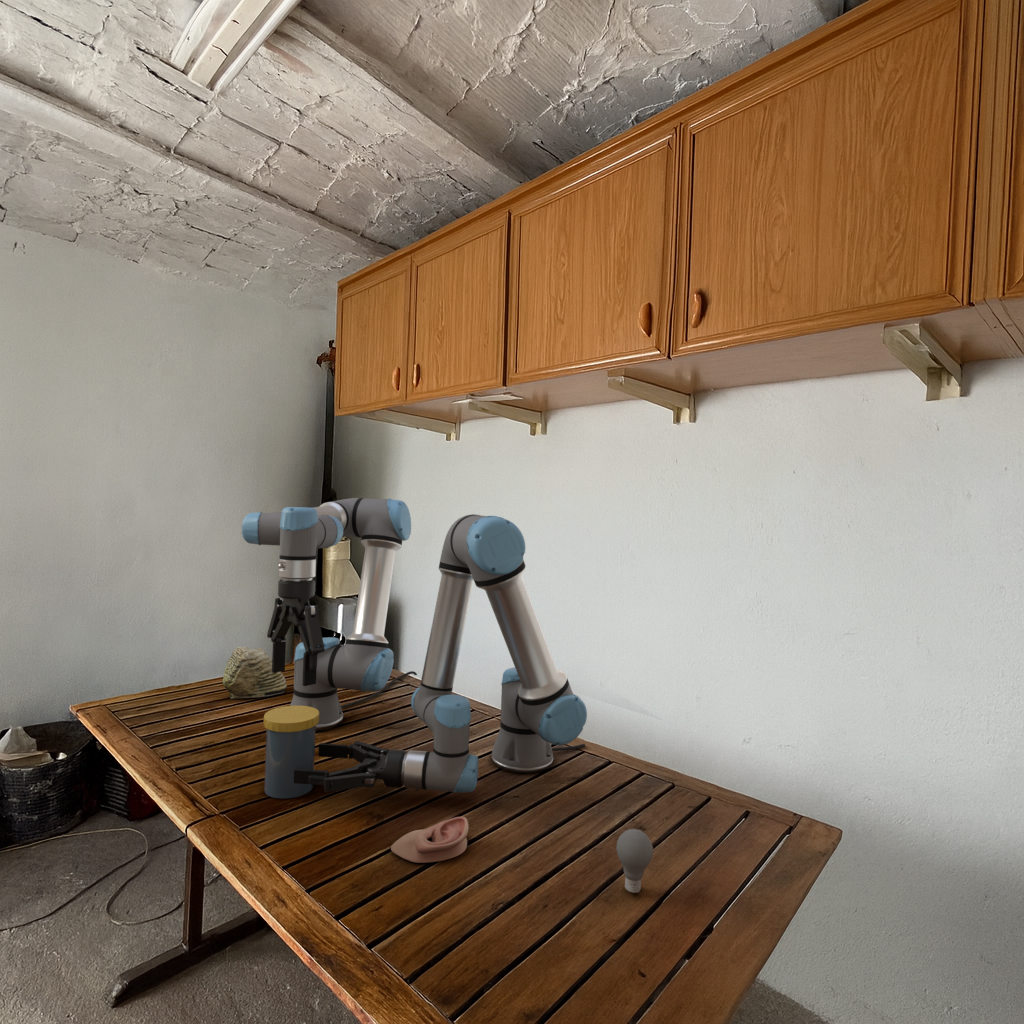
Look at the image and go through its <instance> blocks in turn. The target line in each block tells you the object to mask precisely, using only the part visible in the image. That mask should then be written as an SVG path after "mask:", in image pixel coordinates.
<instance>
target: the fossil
mask: <svg viewBox="0 0 1024 1024" xmlns="http://www.w3.org/2000/svg"><path fill="white" fill-rule="evenodd" d="M222 676H223V677H222V685H223V687H224V688H225V690H226V691H228V693H229V698H230V699H250V698H264V697H271V696H275V695H281V694H284V693H285V691H286V689H287V687H288V686H287V680H286V678H285V676H284V674H283V673H282V671H281V672H276V673H272V657H270V656H269V655H268V654H267V653H266V652H265V650H264V649H263V648H260V647H258V648H251V647H247V646H246V647H245V646H238V647H237V648H236V649H235V650H233V651H232V653H231V656H230V657H229V659H228V660H227V663H226V666H225V668H224V671H223V675H222Z"/></svg>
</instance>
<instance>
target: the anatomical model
mask: <svg viewBox="0 0 1024 1024" xmlns="http://www.w3.org/2000/svg"><path fill="white" fill-rule="evenodd" d="M468 833H469V821H468V819H467V817H465V816H455V817H452V818H448V819H445V820H443V821H440V822H438V823H436V824H434V825H431V826H429V827H427V828H424V829H416V830H413V831H410V832H408V833H406V834H404V835H402V836H401V837H399V838H398V839H397V840H396V841H394V843H393V844H392V845H391V847H390V851H391V852H392V853H393V854H395V855H396V856H398V857H400V858H401V859H404V860H407V861H408V862H411V863H417V864H427V863H434V862H442V861H446V860H450V859H454V858H455V857H458V856H460V855H462V854H463V853H464V852H465V851H466V849H467V847H468V838H467V836H468Z"/></svg>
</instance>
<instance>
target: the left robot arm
mask: <svg viewBox="0 0 1024 1024" xmlns="http://www.w3.org/2000/svg"><path fill="white" fill-rule="evenodd" d="M411 533H412V517H411V512H410V509H409V507H408V505H407V503H406V502H404V501H403V500H401V499H392V498H365V497H351V498H344V499H338V500H333V501H327V502H324V503H321V504H320V505H319V506H315V507H305V506H304V507H303V506H286V507H284V508H283V509H282V510H281V511H275V512H263V511H259V512H249V513H248V514H246V515H245V517H244V518H243V520H242V523H241V535H242V538H243V539H244V541H245V542H246V543H248V544H252V545H258V546H261V545H262V546H279V557H278V558H279V562H278V565H277V566H278V577H280V579H279V580H278V582H277V596H278V597H275V599H274V608H273V611H272V615H271V619H270V622H269V626H268V629H267V632H266V637H267V639H270V641H271V643H272V653H271V655H272V657H271V659H272V673H276V672H281V673H282V672H285V671H286V653H287V650H286V649H287V638H286V636H287V634H288V632H289V630H290V628H291V625H292V624H294V626H295V627H296V628H298V633H299V635H300V638H301V641H302V642H299V643H298V644H297V645H296V647H295V652H294V653H295V654H294V659H293V661H294V672H293V695H292V696H293V697H292V699H291V702H290V704H289V706H309V707H313V708H315V709H317V710H318V711H319V722H318V724H317V725H316V733H317V732H325V731H329V730H332V729H335V728H337V727H339V726H340V725H342V723H343V722H344V713H343V709H345V708H349V707H351V706H354V705H357V704H360V703H363V702H366V701H369V700H372V699H374V698H376V697H378V696H379V695H380V694H382V693H383V692H384V691H386V690H387V689H388V688H389V687H390V686H391V685H392V684H394V683H396V682H397V681H398V680H401V679H404V678H405V677H408V676H409V675H414V676H417V675H418V674H417V672H416V671H412V670H411V671H408V672H406V673H403V674H401V675H399V676H396V677H395V678H393V679H391V680H390V677H391V675H392V671H393V668H394V662H395V659H394V656H395V655H394V652H393V650H392V649H391V648H389V641H388V640H387V637H385V630H386V624H387V615H388V611H389V610H388V609H389V602H390V595H391V588H392V587H391V586H392V580H393V572H394V565H395V558H396V552H398V551H399V550H400V549H402V546H403V541H404V542H406V541H408V540H410V536H411ZM344 536H345V537H349V538H359V539H360V538H361V539H360V543H361V545H362V546H363V547H364V555H363V560H362V561H363V562H362V569H361V575H360V581H359V582H360V583H359V588H358V597H357V601H356V609H355V615H354V622H353V628H352V632H351V634H350V635H348V636H347V637H346V638H345V644H340V643H341V641H340V639H339V638H338V637H334V636H331V637H330V636H329V637H323V634H322V627H321V622H320V618H319V606H318V605H317V604H314V605H310V599H311V598H313V597H314V596H315V594H316V580H315V579H314V578H316V575H317V574H316V573H317V549H329V548H331V547H333V546H336V545H338V544H339V543H340V542H341V540H342V539H343V537H344ZM389 680H390V681H389ZM388 681H389V682H388ZM338 689H339V690H340V689H342V690H351V691H359V692H360V691H361V692H365V693H366V692H375V693H373V694H371V695H369V696H367V697H363V698H360V699H358V700H355V701H352V702H349V703H346V704H345V703H344V704H341V702H340V699H339V695H338Z"/></svg>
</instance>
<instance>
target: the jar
mask: <svg viewBox="0 0 1024 1024" xmlns="http://www.w3.org/2000/svg"><path fill="white" fill-rule="evenodd" d="M265 732H266V733H265V734H266V736H265V758H264V761H265V762H264V763H265V764H264V785H263V791H264V794H265V795H266V796H268V797H270V798H274V799H293V798H297V797H302V796H304V795H306V794H308V793H309V792H310V791H312V790H313V788H314V785H311V784H297V783H294V770H295V769H309V770H315V756H316V755H315V754H316V733H317V732H316V725H315V726H314V727H312V728H309V729H306V730H302V731H296V732H276V731H271V730H268V729H266V731H265Z"/></svg>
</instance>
